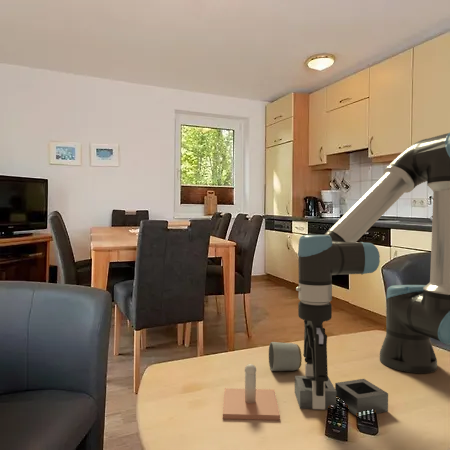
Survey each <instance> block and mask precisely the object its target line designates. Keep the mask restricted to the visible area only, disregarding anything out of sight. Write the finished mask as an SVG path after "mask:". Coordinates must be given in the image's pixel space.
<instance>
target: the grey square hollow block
mask: <svg viewBox="0 0 450 450" xmlns="http://www.w3.org/2000/svg"><path fill="white" fill-rule="evenodd" d="M334 385H335V387H334V388H335V390H336V391H337V393H336V396H338V397H339V398H340V399H342V400H343V401H344V402H345V403H346V404H347V405H348V408H349V410H348V411H349V412H350V413H351V414H352V415H354V416H355V415H356V413H358V412H362V411H366V410H372V409H375V410H376V414H381V413H387V412H389V393H388V392H387V391H385V390H383V389H381V388H380V387H378V386H376V385H375V384H374V383H372V382H371V381H368V380H367V379H366V378H360V379H359V378H358V379H351V380H345V381H341V382H335V384H334ZM376 414H375V415H376Z"/></svg>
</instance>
